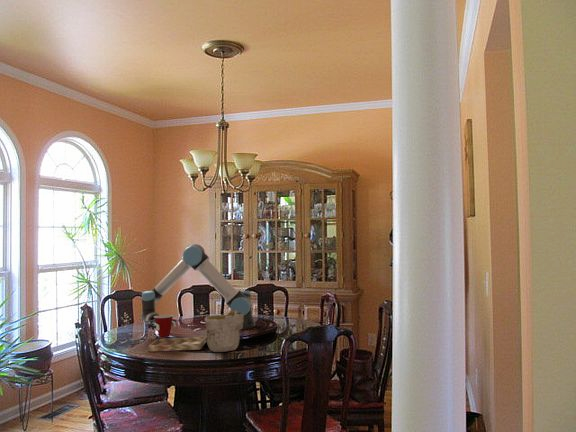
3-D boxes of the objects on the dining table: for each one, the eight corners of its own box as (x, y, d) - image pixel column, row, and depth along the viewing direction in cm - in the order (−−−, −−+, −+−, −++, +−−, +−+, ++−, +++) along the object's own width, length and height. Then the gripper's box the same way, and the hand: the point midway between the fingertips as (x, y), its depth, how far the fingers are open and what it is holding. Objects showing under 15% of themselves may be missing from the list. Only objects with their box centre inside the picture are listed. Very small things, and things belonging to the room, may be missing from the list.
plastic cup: (177, 333, 282) (176, 312, 282) (170, 338, 271) (169, 317, 271) (158, 334, 283) (157, 313, 283) (151, 339, 272) (150, 317, 272)
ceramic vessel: (185, 333, 271) (211, 295, 277) (220, 355, 278) (244, 317, 285) (195, 342, 250) (222, 300, 257) (232, 365, 258) (258, 323, 264)
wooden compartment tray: (206, 342, 283) (206, 336, 283) (200, 349, 268) (199, 344, 268) (157, 344, 285) (156, 338, 285) (148, 351, 270) (148, 346, 270)
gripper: (171, 323, 298) (185, 329, 279) (136, 329, 286) (148, 336, 267) (171, 310, 298) (184, 316, 279) (135, 316, 286) (147, 322, 267)
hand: (166, 326), depth 273 cm, fingers closed on plastic cup, 9 cm apart
